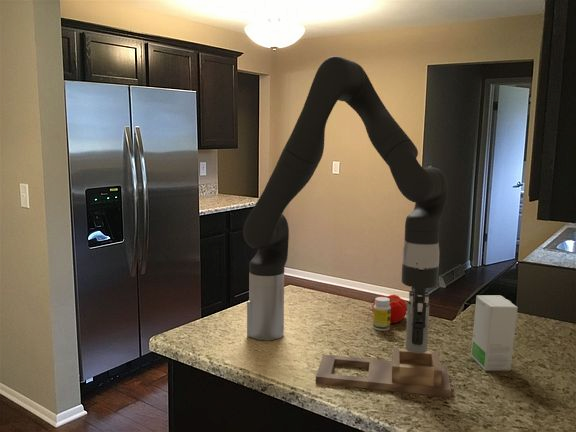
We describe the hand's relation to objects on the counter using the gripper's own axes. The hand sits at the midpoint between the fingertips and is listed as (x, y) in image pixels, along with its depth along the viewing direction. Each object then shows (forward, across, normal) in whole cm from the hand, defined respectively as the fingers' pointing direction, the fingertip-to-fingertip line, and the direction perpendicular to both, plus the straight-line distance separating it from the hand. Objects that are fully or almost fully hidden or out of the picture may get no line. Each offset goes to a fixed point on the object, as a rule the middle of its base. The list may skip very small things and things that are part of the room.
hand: (416, 339), depth 114 cm
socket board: (+9, 0, -7) cm, 12 cm away
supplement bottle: (+10, -31, -8) cm, 33 cm away
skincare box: (+10, -13, +18) cm, 24 cm away
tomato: (+10, -39, -6) cm, 41 cm away
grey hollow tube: (+3, 0, 0) cm, 3 cm away
